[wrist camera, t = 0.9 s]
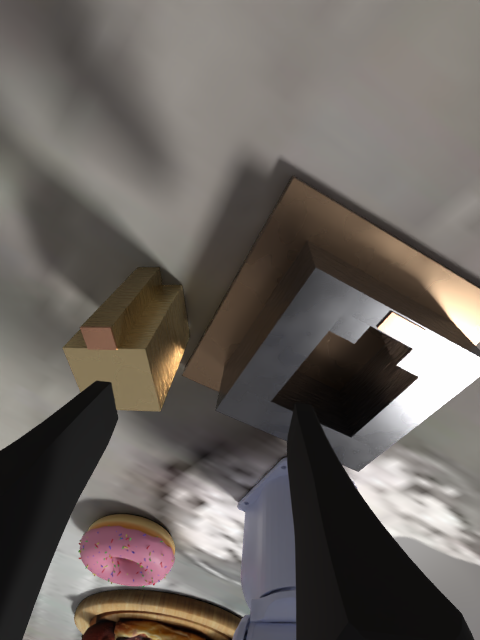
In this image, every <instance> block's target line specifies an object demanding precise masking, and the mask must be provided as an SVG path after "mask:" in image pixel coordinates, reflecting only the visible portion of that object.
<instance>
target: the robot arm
mask: <svg viewBox="0 0 480 640" xmlns="http://www.w3.org/2000/svg"><path fill="white" fill-rule="evenodd" d="M117 420H118V415H117V409H116V404H115V399H114V394H113V388H112V383H111V382H105V381H95V382H94V383H92V384H91V385H90V386H88V387H87V388H86V389H85V390H83V391H82V392H81V393H80V394H78V395H77V396H76V397H74V398H73V399H72V400H71V401H69V402H68V403H67V404H66V405H64V406H63V407H62V408H60V409H59V410H58V411H57V412H55V413H54V414H53V415H51V416H50V417H49V418H47V419H46V420H45V421H43V422H42V423H41V424H39V425H38V426H36V427H35V428H33V429H32V430H31V431H29V432H28V433H26V434H25V435H24V436H22V437H21V438H19V439H18V440H16V441H15V442H13V443H12V444H10V445H9V446H7V447H6V448H4V449H2V450H1V451H0V640H22V639H23V636H24V633H25V630H26V628H27V625H28V622H29V619H30V616H31V613H32V610H33V608H34V605H35V602H36V600H37V597H38V594H39V592H40V589H41V586H42V584H43V581H44V578H45V576H46V573H47V571H48V568H49V566H50V563H51V561H52V558H53V556H54V553H55V551H56V548H57V546H58V543H59V541H60V539H61V536H62V534H63V532H64V529H65V527H66V525H67V522H68V520H69V518H70V515H71V513H72V511H73V509H74V507H75V505H76V503H77V501H78V499H79V497H80V495H81V493H82V491H83V490H84V488H85V486H86V484H87V482H88V480H89V479H90V477H91V475H92V473H93V471H94V469H95V468H96V466H97V464H98V462H99V460H100V458H101V456H102V455H103V453H104V451H105V449H106V447H107V445H108V443H109V441H110V438H111V436H112V433H113V431H114V428H115V426H116V423H117ZM237 507H238V509H239V510H242V511H244V512H245V524H244V538H243V552H242V566H241V584H242V590H243V594H244V597H245V600H246V602H247V604H248V606H249V608H250V615H245V616H244V617H243V618H242V619H241V621H240V623H239V625H238V627H237V628H236V630H235V633H234V635H233V638H232V640H474V638H473V636H472V633H471V631H470V630H469V628H468V625H467V623H466V622H465V620H464V617H463V615H462V613H461V612H460V611H459V610H458V609H457V608H456V607H455V606H454V605H453V604H452V603H451V602H450V601H449V600H448V599H447V598H446V597H445V596H444V595H443V594H442V593H441V592H440V591H439V590H438V589H437V587H436V586H435V585H434V584H433V583H432V582H431V581H430V580H429V579H428V578H427V577H426V576H425V575H424V573H423V572H422V571H421V570H420V569H419V568H418V567H417V566H416V564H415V563H414V562H413V561H412V560H411V559H410V558H409V557H408V555H407V554H406V553H405V552H404V551H403V549H402V548H401V547H400V546H399V544H398V543H397V542H396V541H395V540H394V538H393V537H392V536H391V535H390V533H389V532H388V531H387V530H386V529H385V527H384V526H383V525H382V524H381V522H380V521H379V519H378V518H377V517H376V515H375V514H374V513H373V511H372V510H371V509H370V507H369V506H368V505H367V503H366V502H365V500H364V499H363V497H362V496H361V495H360V493H359V492H358V490H357V487H356V486H355V485H354V484H353V482H352V481H351V479H350V478H349V476H348V474H347V473H346V471H345V469H344V468H343V466H342V464H341V463H340V461H339V459H338V457H337V456H336V454H335V452H334V450H333V448H332V446H331V445H330V443H329V441H328V439H327V437H326V435H325V433H324V431H323V429H322V426H321V424H320V422H319V420H318V418H317V415H316V413H315V411H314V408H313V406H312V405H310V404H301V403H295V405H294V410H293V414H292V419H291V423H290V428H289V432H288V437H287V458H283V459H282V460H281V461H280V462H279V463H278V464H277V465H276V466H275V467H274V468H273V469H272V470H271V471H270V472H269V473H268V474H267V475H266V476H265V477H264V478H263V479H262V480H261V481H260V482H259V483H258V484H257V485H256V486H255V487H254V488H253V489H252V490H251V491H250V492H249V493H248V494H247V495H246V496H245V497H244V498H243V499H242V500H241V501H240V502H239V503H238V506H237Z"/></svg>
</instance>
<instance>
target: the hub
mask: <svg viewBox="0 0 480 640" xmlns="http://www.w3.org/2000/svg"><path fill="white" fill-rule="evenodd" d="M479 342H480V287H478V286H477V285H475V284H473V283H472V282H470V281H468V280H467V279H465V278H463V277H462V276H460V275H458V274H457V273H455V272H453V271H452V270H450V269H448V268H447V267H445V266H443V265H442V264H440V263H438V262H437V261H435V260H433V259H432V258H430V257H428V256H427V255H425V254H423V253H422V252H420V251H418V250H417V249H415V248H413V247H412V246H410V245H408V244H407V243H405V242H403V241H402V240H400V239H398V238H397V237H395V236H393V235H392V234H390V233H388V232H387V231H385V230H383V229H382V228H380V227H378V226H377V225H375V224H373V223H372V222H370V221H368V220H367V219H365V218H363V217H362V216H360V215H358V214H357V213H355V212H353V211H352V210H350V209H348V208H347V207H345V206H343V205H342V204H340V203H338V202H337V201H335V200H333V199H332V198H330V197H328V196H327V195H325V194H323V193H322V192H320V191H318V190H317V189H315V188H313V187H312V186H310V185H308V184H307V183H305V182H303V181H302V180H300V179H298V178H297V177H295V176H292V178H291V179H290V181H289V183H288V185H287V186H286V188H285V190H284V192H283V194H282V195H281V197H280V199H279V201H278V203H277V204H276V206H275V208H274V210H273V211H272V213H271V215H270V217H269V219H268V220H267V222H266V224H265V226H264V228H263V229H262V231H261V233H260V235H259V236H258V238H257V240H256V242H255V244H254V245H253V247H252V249H251V251H250V252H249V254H248V256H247V258H246V260H245V261H244V263H243V265H242V267H241V269H240V270H239V272H238V274H237V276H236V277H235V279H234V281H233V283H232V285H231V286H230V288H229V290H228V292H227V293H226V295H225V297H224V299H223V301H222V302H221V304H220V306H219V308H218V310H217V311H216V313H215V315H214V317H213V318H212V320H211V322H210V324H209V326H208V327H207V329H206V331H205V333H204V335H203V336H202V338H201V340H200V342H199V343H198V345H197V347H196V349H195V351H194V352H193V354H192V356H191V358H190V359H189V361H188V363H187V365H186V367H185V369H184V372H183V375H182V376H184V377H186V378H188V379H191V380H193V381H195V382H198V383H200V384H202V385H204V386H207V387H209V388H211V389H213V390H216V391H218V392H219V395H218V400H217V405H216V410H215V411H218V412H220V413H222V414H225V415H227V416H229V417H232V418H234V419H236V420H239V421H241V422H243V423H246V424H248V425H250V426H253V427H255V428H257V429H260V430H262V431H264V432H267V433H269V434H271V435H274V436H276V437H278V438H281V439H283V440H285V441H287V437H288V432H289V428H290V423H291V419H292V414H293V410H294V405H295V403H301V404H310V405H312V406H313V408H314V411H315V413H316V415H317V418H318V420H319V422H320V424H321V426H322V429H323V431H324V433H325V435H326V437H327V439H328V441H329V443H330V445H331V446H332V448H333V450H334V452H335V454H336V456H337V457H338V459H339V461H340V463H341V464H342V465H344V466H346V467H348V468H351V469H353V470H355V471H358V472H359V471H360V470H361V469H362V468H364V467H365V466H366V465H367V464H369V463H370V462H371V461H373V460H374V459H375V458H376V457H378V456H379V455H380V454H381V453H383V452H384V451H385V450H387V449H388V448H389V447H390V446H392V445H393V444H394V443H395V442H397V441H398V440H399V439H401V438H402V437H403V436H404V435H406V434H407V433H408V432H409V431H411V430H412V429H413V428H415V427H416V426H417V425H418V424H420V423H421V422H422V421H423V420H425V419H426V418H427V417H429V416H430V415H431V414H432V413H434V412H435V411H436V410H437V409H439V408H440V407H441V406H443V405H444V404H445V403H446V402H448V401H449V400H450V399H451V398H453V397H454V396H455V395H457V394H458V393H459V392H460V391H462V390H463V389H464V388H465V387H467V386H468V385H469V384H471V383H472V382H473V381H474V380H476V379H477V378H478V377H479V376H480V350H479V349H478V348H477V347H476V346H475V345H476V344H478V343H479Z"/></svg>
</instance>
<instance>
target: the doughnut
mask: <svg viewBox="0 0 480 640" xmlns="http://www.w3.org/2000/svg"><path fill="white" fill-rule="evenodd" d="M80 541H81V543H79V544H80V550H79V552H80V555H81V558H79V559H82V561H83V563H84V565H85V566H86V568H87V569H88V570H90V571H91V572H92V573H93V574H94V576H95V575H97V576H98V577H100V578H102V579H105V580H107V581H108V582H109V581H110V582H111V584H112V582H113V583H117V584H121V585H127V586H142V587H144V586H145V585H151V584H153V585H154V584H155V583H156V582H158V581H159V582H160V580H162V579H163V578H165V576H166V575H167V574H168V572H169V571H171V570H170V569H171V567H172V566H173V563H174V561H175V557H174V554H175V545H174V542H173V539H172V537H171V536H170V534H169V533H168V532H167V531H166V530H165V529H164V528H163V527H162V526H160V525H159V524H157V523H155V522H153V521H151V520H149V519H146V518H143V517H140V516H135V515H129V514H115V515H109V516H105V517H103V518H101V519H99V520H97V521H96V522H94V523H93V524H92V525H91V526H90V527H89V529H88V531H87V532H86V533H85V534H83V537H82V539H81V540H80Z"/></svg>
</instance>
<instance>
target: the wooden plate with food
mask: <svg viewBox="0 0 480 640" xmlns="http://www.w3.org/2000/svg"><path fill="white" fill-rule="evenodd" d="M74 620H75V624H76V626H77V628H78V629H79V631H80V632H81V633H82V634H83V635H82V640H232V638H233V635H234V633H235V630H236V628H237V627H238V625H239V623H240V621H241V619H240V618H238V617H237V616H235V615H233V614H231V613H230V612H227V611H225V610H223V609H221V608H219V607H216V606H214V605H211V604H208V603H205V602H202V601H199V600H195V599H192V598H188V597H184V596H180V595H176V594H171V593H166V592H160V591H150V590H112V591H105V592H101V593H97V594H94V595H91V596H89V597H87V598H85V599H84V600H83V601H82V602H81V603H80V604H79V605H78V607H77V609H76V612H75V616H74Z"/></svg>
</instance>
